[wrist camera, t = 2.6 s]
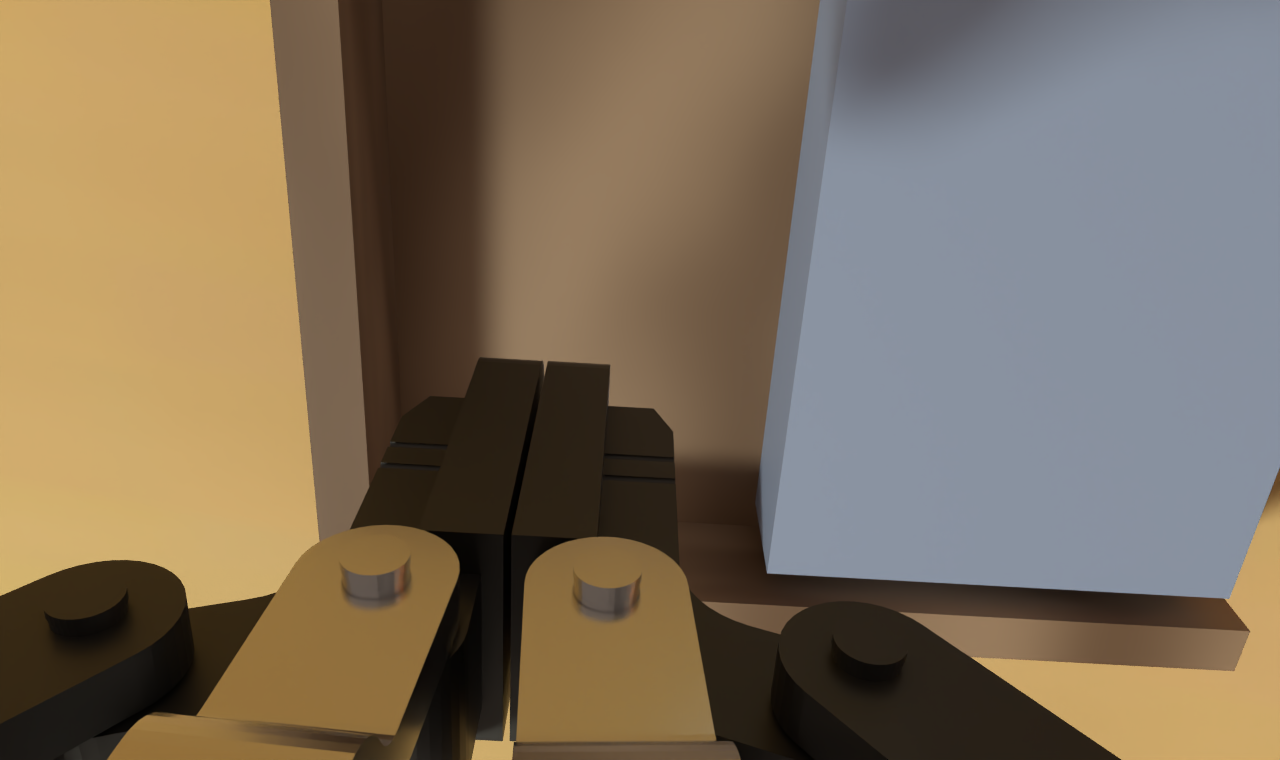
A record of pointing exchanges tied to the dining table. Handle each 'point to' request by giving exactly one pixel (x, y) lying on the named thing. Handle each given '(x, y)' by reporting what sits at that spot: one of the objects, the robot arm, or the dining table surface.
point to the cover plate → (1030, 297)
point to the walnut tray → (601, 268)
